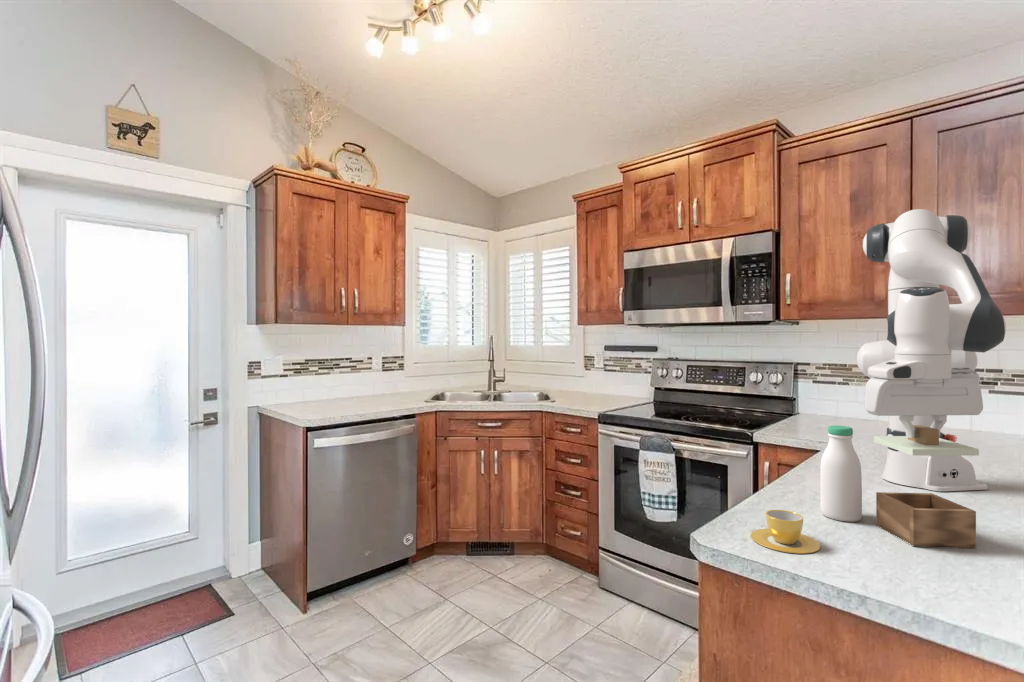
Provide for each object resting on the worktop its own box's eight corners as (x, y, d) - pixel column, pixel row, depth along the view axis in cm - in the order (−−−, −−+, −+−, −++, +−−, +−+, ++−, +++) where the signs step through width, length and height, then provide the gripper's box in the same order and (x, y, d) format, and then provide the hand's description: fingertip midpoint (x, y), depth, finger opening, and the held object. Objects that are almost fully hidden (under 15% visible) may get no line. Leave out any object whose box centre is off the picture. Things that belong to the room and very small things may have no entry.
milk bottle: (868, 523, 106) (868, 430, 106) (828, 521, 108) (828, 429, 108) (852, 511, 114) (851, 424, 114) (814, 509, 116) (814, 423, 116)
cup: (813, 561, 89) (812, 531, 89) (742, 543, 97) (742, 516, 97) (826, 541, 98) (826, 513, 98) (760, 526, 106) (760, 501, 106)
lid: (932, 441, 105) (932, 421, 105) (978, 455, 94) (978, 433, 93) (873, 441, 106) (873, 422, 106) (912, 455, 95) (912, 433, 94)
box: (932, 526, 105) (931, 493, 105) (976, 548, 94) (975, 511, 94) (876, 525, 106) (876, 492, 106) (913, 546, 95) (913, 509, 95)
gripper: (965, 366, 102) (965, 433, 102) (859, 368, 104) (860, 434, 104) (992, 368, 95) (992, 440, 96) (879, 370, 97) (879, 441, 98)
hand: (922, 437), depth 100 cm, fingers closed on lid, 2 cm apart
